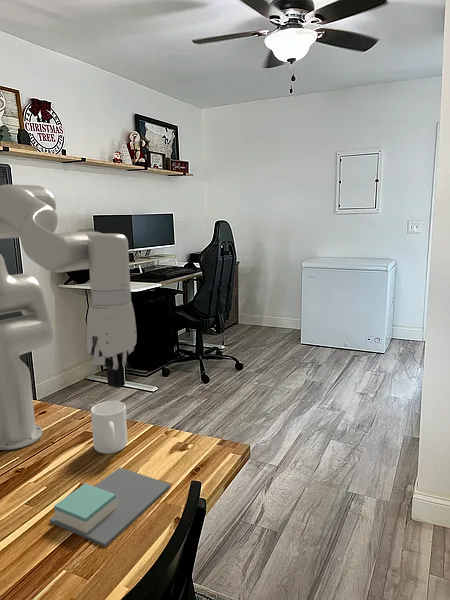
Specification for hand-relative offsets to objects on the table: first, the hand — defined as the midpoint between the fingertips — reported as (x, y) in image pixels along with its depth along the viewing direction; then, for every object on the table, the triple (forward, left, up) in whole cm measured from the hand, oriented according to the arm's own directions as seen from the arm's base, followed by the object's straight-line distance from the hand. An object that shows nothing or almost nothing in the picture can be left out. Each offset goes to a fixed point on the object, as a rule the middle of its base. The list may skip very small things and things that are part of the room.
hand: (116, 385), depth 93 cm
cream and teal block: (0, -6, -21) cm, 22 cm away
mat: (+2, -5, -23) cm, 24 cm away
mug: (-13, +11, -23) cm, 29 cm away
